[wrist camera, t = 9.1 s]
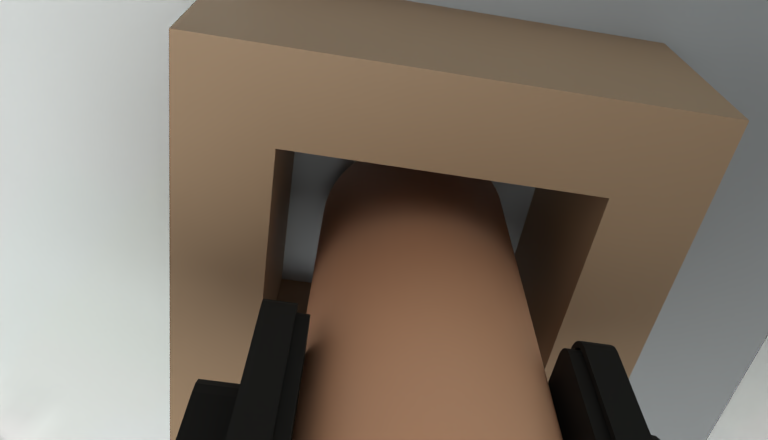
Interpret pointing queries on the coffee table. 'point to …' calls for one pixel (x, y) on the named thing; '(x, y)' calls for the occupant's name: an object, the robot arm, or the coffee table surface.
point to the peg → (419, 316)
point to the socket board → (487, 169)
